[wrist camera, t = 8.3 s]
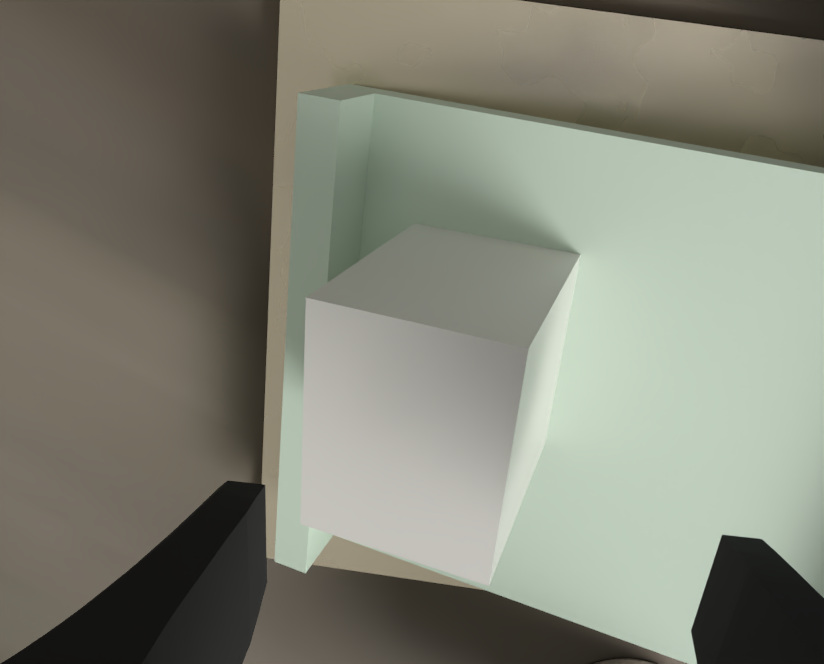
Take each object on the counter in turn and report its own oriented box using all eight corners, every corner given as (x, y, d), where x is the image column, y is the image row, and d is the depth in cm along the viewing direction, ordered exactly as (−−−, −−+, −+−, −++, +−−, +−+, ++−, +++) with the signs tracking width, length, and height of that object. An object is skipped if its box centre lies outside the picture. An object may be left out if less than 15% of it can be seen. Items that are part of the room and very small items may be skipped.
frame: (1228, 94, 17) (1583, 142, 12) (914, 640, 24) (1039, 825, 19) (287, -31, 17) (202, -40, 12) (263, 544, 25) (204, 698, 19)
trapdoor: (1387, 252, 14) (1646, 341, 10) (1048, 718, 19) (1131, 889, 15) (378, 78, 19) (297, 93, 16) (340, 479, 25) (274, 561, 21)
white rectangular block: (580, 254, 16) (528, 348, 12) (545, 441, 19) (488, 585, 14) (414, 223, 18) (305, 297, 13) (398, 403, 20) (300, 524, 15)
